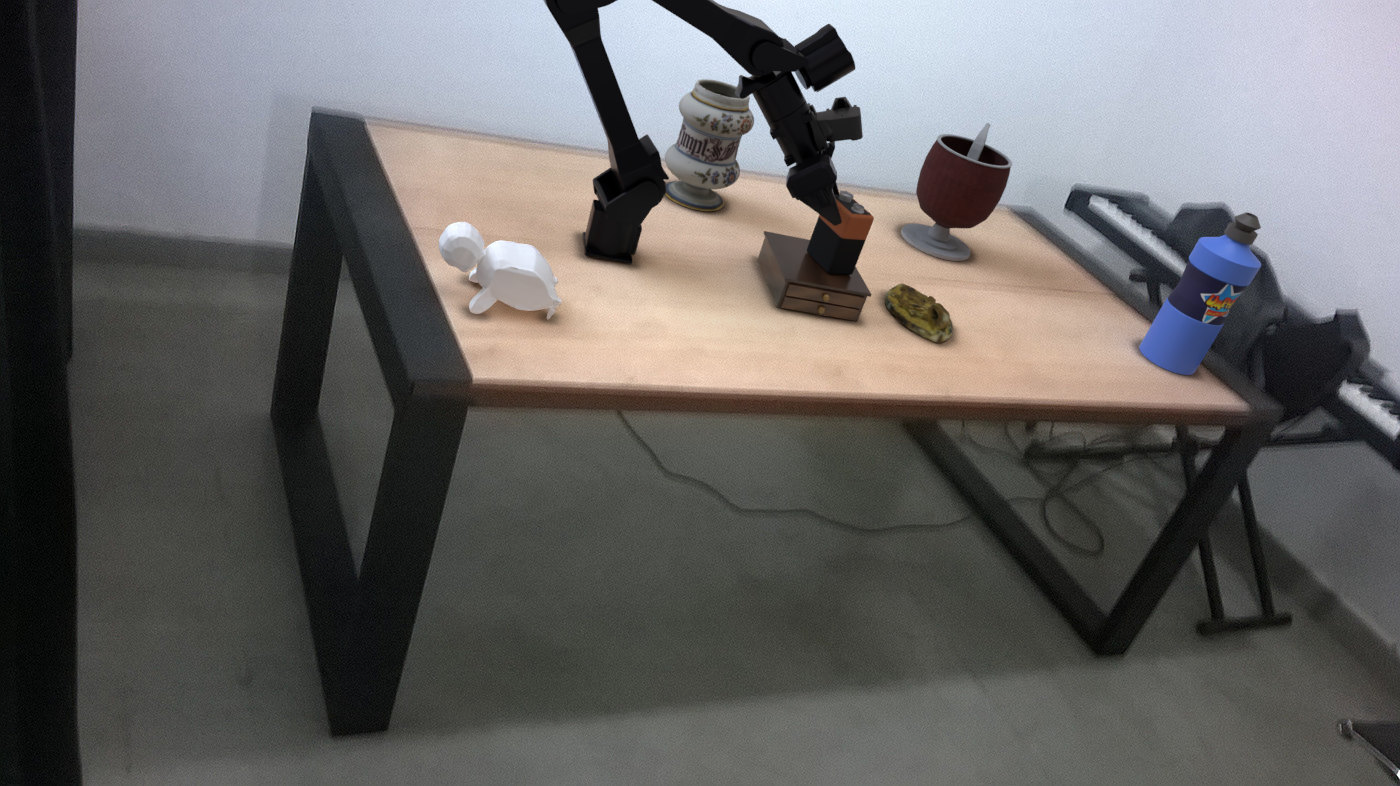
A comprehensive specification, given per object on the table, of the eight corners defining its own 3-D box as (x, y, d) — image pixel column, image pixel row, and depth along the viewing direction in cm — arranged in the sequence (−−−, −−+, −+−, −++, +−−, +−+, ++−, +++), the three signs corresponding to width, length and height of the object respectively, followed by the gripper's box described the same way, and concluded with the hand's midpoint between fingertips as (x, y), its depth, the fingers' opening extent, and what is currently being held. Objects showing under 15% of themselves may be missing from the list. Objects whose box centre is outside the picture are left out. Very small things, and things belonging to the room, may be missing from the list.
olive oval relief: (867, 293, 159) (911, 346, 148) (875, 265, 157) (920, 317, 145) (922, 293, 162) (969, 345, 151) (931, 266, 160) (979, 316, 148)
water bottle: (1207, 378, 165) (1297, 234, 152) (1159, 371, 162) (1246, 224, 149) (1174, 346, 173) (1256, 206, 160) (1127, 339, 170) (1207, 196, 157)
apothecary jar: (692, 178, 177) (722, 72, 167) (744, 210, 171) (778, 103, 162) (640, 184, 168) (669, 73, 159) (693, 218, 162) (726, 106, 153)
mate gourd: (967, 272, 175) (1018, 158, 165) (888, 239, 178) (934, 126, 167) (980, 244, 188) (1028, 138, 178) (906, 215, 191) (950, 108, 180)
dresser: (776, 311, 143) (787, 281, 141) (754, 258, 156) (764, 230, 154) (861, 326, 147) (873, 297, 144) (833, 273, 159) (844, 246, 157)
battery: (829, 252, 153) (853, 189, 148) (853, 276, 148) (878, 211, 143) (804, 251, 151) (827, 186, 146) (827, 275, 146) (852, 209, 141)
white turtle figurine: (530, 309, 132) (421, 251, 125) (568, 257, 129) (458, 194, 122) (534, 345, 125) (419, 286, 118) (575, 291, 122) (458, 227, 115)
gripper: (844, 101, 129) (897, 210, 135) (840, 64, 145) (888, 163, 151) (762, 143, 132) (817, 247, 139) (767, 102, 148) (817, 197, 155)
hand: (837, 211), depth 146 cm, fingers open, 9 cm apart
